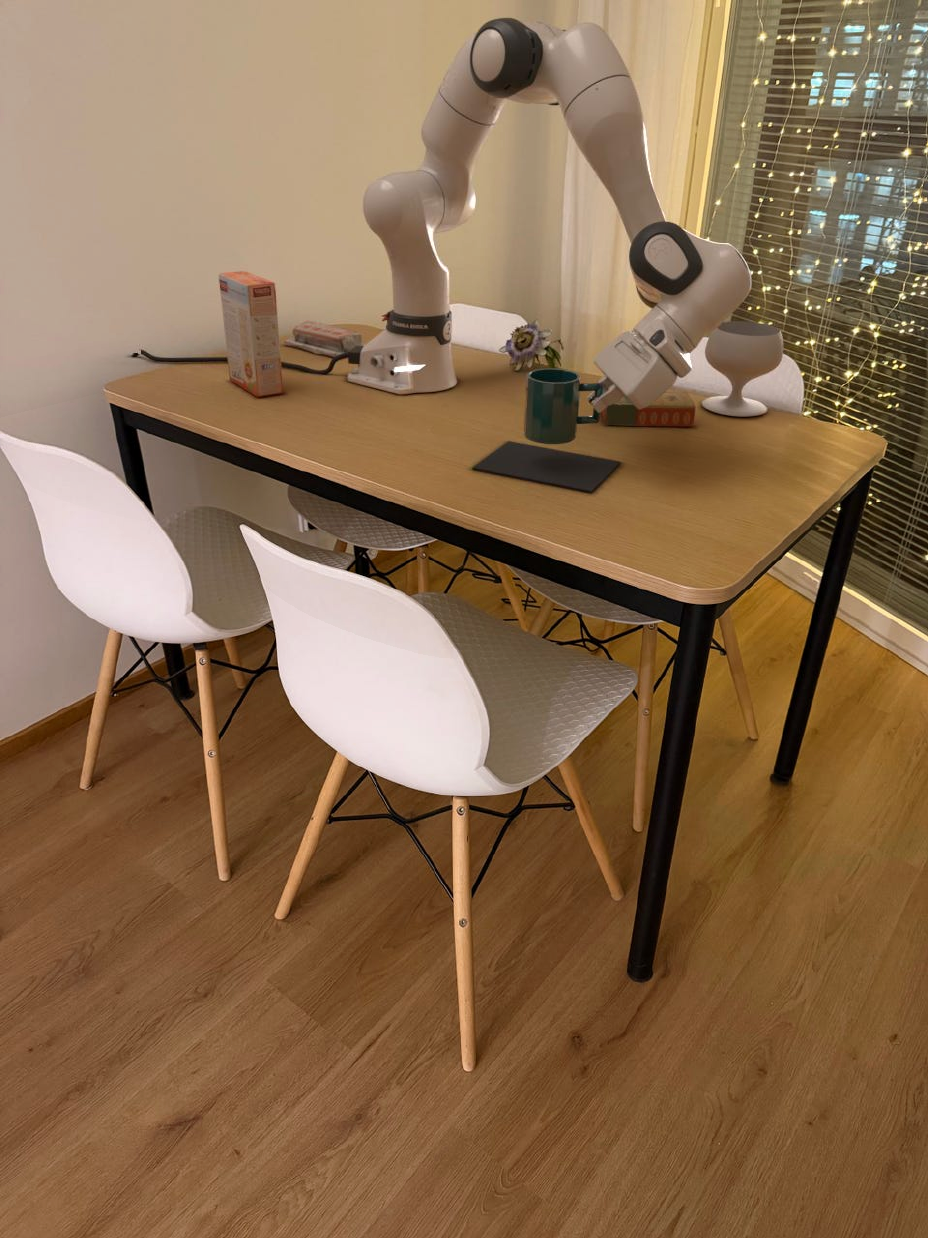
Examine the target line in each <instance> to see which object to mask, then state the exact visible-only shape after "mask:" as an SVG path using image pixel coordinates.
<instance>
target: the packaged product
mask: <svg viewBox="0 0 928 1238" xmlns="http://www.w3.org/2000/svg"><path fill="white" fill-rule="evenodd" d="M292 335H293V337H290V338H287V339H284V340H283V344H284V346H288V347H292V348H298V349H301V350H304V351H308V352H311V353H313V354H315V355H323V356H327V357H331V358H334V357H336V356H338V355H340V354H343V353H347V352H349V351H350V350H351V349H353V348H354V347H355V346H365V345H366V344H367V343H366V344H365V343H363V339H362V338H363V336H362V334H361V332H358V331H354V330H349V329H346V328H343V327H338V326H335V325H334V326H333V325H330V324H326V323H321V322H317V321H313V320H305V321H303V322H302V323H300V324H298V325H297V326H295V327H294V328H293V329H292Z"/></svg>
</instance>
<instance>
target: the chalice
mask: <svg viewBox="0 0 928 1238" xmlns="http://www.w3.org/2000/svg"><path fill="white" fill-rule="evenodd" d="M704 356H705V359H706V362H707V363H708V364H709V365H710V366H711V367H712V368H713V369H714V370H715V371H717V372H719V374H721V375H723V376H724V377H725V378H726V379H727V380H728V381H729V383H730V384H731V389H732V390H731V393H730V394H729V395H718V396H717V395H716V396H710V397H707V398H705V399H704V400H702V402H701V405H702V406H703V408H704V409H706V410H708V411H710V412H713V413H717V414H720V415H725V416H731V417H755V416H761V415H764V414H765V413H766V412H768V407H767V406H766V405H765V404H764V403H762V402H760V401H758V400H755V399H752V398H748V397H744V396H743V394H742V393H743V389H744V387H745V386H746V385H747V384H748V383H749V382H750V381H752V380H755V379H757V378H759V377H762V376H764V375H766V374H769V373H771V372H773V371H774V370H775V369H776V368H778V367H779V365H780V364H781V363H782V360H783V357H784V339H783V334H782V331H781V330H780V329H779V328H778V327H777V326H774V325H771V324H767V323H761V322H755V321H744V320H743V321H742V320H734V321H733V320H732V321H724V322H723V323H722V324H721V325H720V326H719V327H717V328H716V329H714V330H712V331H711V332H710V334H709V335H708V339H707V342H706V344H705V347H704Z"/></svg>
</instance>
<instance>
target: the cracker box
mask: <svg viewBox="0 0 928 1238" xmlns="http://www.w3.org/2000/svg"><path fill="white" fill-rule="evenodd" d="M218 282H219V283H218V284H219V291H220V299H221V309H222V318H223V328H224V336H225V346H226V355H227V356H226V357H228V362H227V365H228V374H229V375H228V376H229V381H230V382H232V383H233V384H235V385H237V386H239V387H240V388H242V389H244V390H245V391H247V392H248V393H250V394H251V395H253V396H255V397H257V398H259V397H260V398H261V397H267V396H274V395H275V396H276V395H280V394H284V383H283V371H282V369H283V368H282V367H281V362H282V357H281V356H282V355H281V344H280V343H281V342H280V329H279V319H278V318H279V317H278V306H277V305H278V304H277V291H276V283H275V282H274V281H271V280H268V279H266V278H263V277H261V276H258V275H255V274H253V273H251V272H248V271H244V270H243V271H242V270H240V271H229V272H221V273H218Z"/></svg>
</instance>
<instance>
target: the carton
mask: <svg viewBox="0 0 928 1238" xmlns="http://www.w3.org/2000/svg"><path fill="white" fill-rule="evenodd" d="M696 408H697V407H696V404H695V402H694V401H693V399H692V397H691V395H690V394H689V393H688V392H687V391H686V392H685V391H666V392H665V393H663V394H662V395H661V396H660V397H659V398H658V399H657V400H655V401H654V402H653V403H652V404H650V405H649V406H647V407H645V408H643V409H640V410H639V409H637V408H636V407H635V406H634V405H633V404H632V403H631V401H630V400H629V399H628V398H627V397H626V396H625V395H624V396H623V397H622V398H621V399H620V400H619V401H617V402H615V403H613V404H611V405H609V406H607V407H606V408H605V409H604V410H603V411H602V412H601V414H600V415H601V416H602V419H603V422H604V424H605V426H630V427H631V426H636V427H637V426H638V427H642V426H643V427H694V424H695V417H696Z"/></svg>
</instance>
